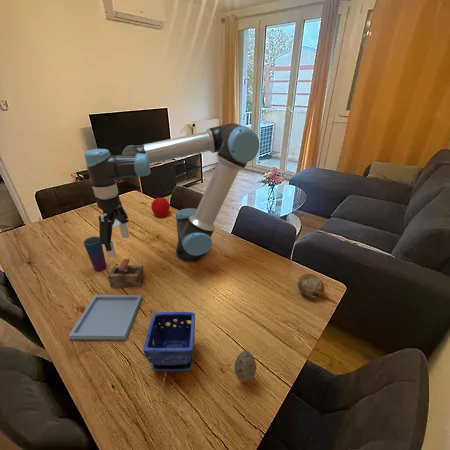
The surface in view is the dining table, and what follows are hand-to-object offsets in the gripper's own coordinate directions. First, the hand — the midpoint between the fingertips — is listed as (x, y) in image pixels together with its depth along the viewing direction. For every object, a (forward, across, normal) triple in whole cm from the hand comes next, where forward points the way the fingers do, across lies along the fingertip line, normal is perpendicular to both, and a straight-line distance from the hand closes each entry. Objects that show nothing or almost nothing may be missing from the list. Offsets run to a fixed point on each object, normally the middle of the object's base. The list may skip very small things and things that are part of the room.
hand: (119, 246), depth 96 cm
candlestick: (+18, -52, -26) cm, 61 cm away
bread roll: (+18, +3, +75) cm, 77 cm away
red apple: (+18, -62, 0) cm, 65 cm away
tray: (+18, +19, 0) cm, 26 cm away
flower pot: (+18, +33, +26) cm, 46 cm away
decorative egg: (+18, +39, +47) cm, 64 cm away
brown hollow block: (+18, 0, 0) cm, 18 cm away
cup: (+18, -9, -16) cm, 26 cm away
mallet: (+18, 0, 0) cm, 18 cm away
